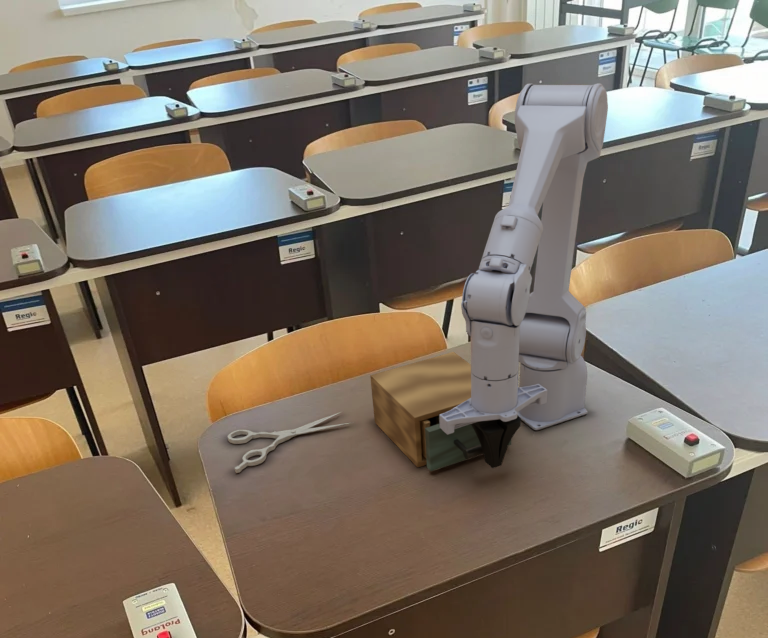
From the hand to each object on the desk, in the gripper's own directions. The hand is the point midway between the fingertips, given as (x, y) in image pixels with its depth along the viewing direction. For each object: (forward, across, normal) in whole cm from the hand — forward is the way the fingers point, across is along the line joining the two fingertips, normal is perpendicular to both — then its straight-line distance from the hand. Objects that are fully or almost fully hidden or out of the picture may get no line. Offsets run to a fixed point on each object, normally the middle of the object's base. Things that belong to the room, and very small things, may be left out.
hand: (493, 463), depth 100 cm
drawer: (+2, 0, +10) cm, 11 cm away
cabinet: (+3, 0, +16) cm, 16 cm away
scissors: (+3, -20, +26) cm, 33 cm away
